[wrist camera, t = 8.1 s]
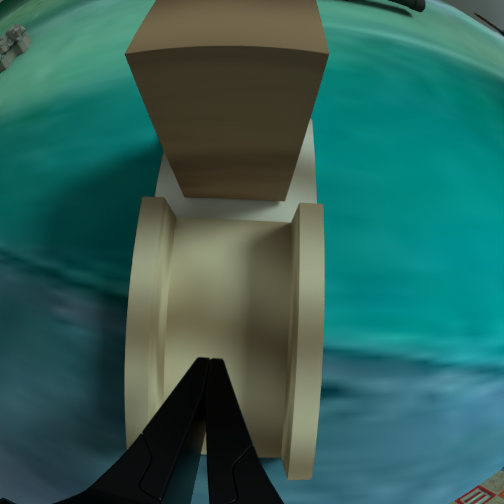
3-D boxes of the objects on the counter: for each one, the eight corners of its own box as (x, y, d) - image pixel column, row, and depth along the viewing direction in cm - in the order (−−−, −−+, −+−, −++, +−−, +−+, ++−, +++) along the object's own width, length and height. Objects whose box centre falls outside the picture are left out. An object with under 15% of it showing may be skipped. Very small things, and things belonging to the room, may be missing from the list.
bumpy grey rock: (-12, 65, 25) (-23, 50, 21) (21, 34, 27) (12, 19, 23) (-3, 79, 24) (-16, 62, 20) (37, 43, 25) (26, 25, 21)
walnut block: (285, 201, 18) (329, 53, 7) (184, 197, 18) (124, 53, 7) (284, 122, 19) (310, -19, 8) (196, 119, 19) (170, -20, 8)
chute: (304, 450, 15) (319, 478, 11) (144, 439, 15) (121, 462, 11) (309, 127, 21) (320, 91, 17) (174, 122, 20) (163, 86, 17)
